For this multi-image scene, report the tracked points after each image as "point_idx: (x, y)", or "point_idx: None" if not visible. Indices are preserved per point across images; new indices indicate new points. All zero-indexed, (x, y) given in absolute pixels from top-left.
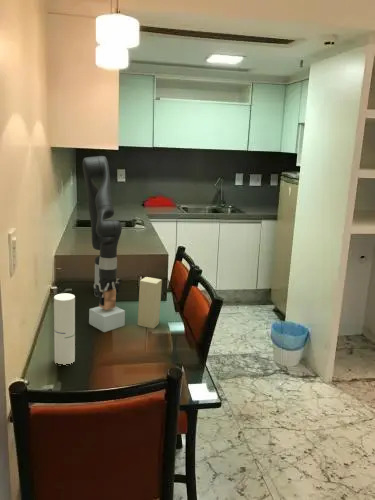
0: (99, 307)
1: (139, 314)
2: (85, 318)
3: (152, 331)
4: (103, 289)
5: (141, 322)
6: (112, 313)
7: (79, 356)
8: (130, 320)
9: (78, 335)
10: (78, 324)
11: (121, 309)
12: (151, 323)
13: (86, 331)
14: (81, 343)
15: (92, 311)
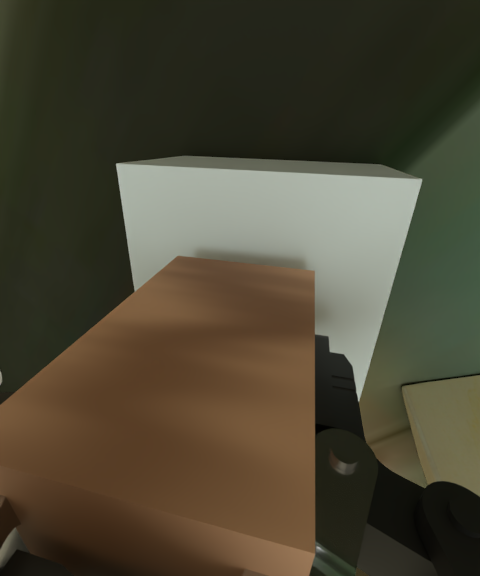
0: (227, 203)
1: (426, 461)
2: (219, 25)
3: (385, 463)
4: (40, 529)
5: (411, 424)
6: None
7: (20, 377)
8: (445, 312)
9: (66, 247)
10: (120, 108)
11: (356, 384)
12: (425, 476)
13: (120, 238)
14: (54, 318)
15: (129, 222)
